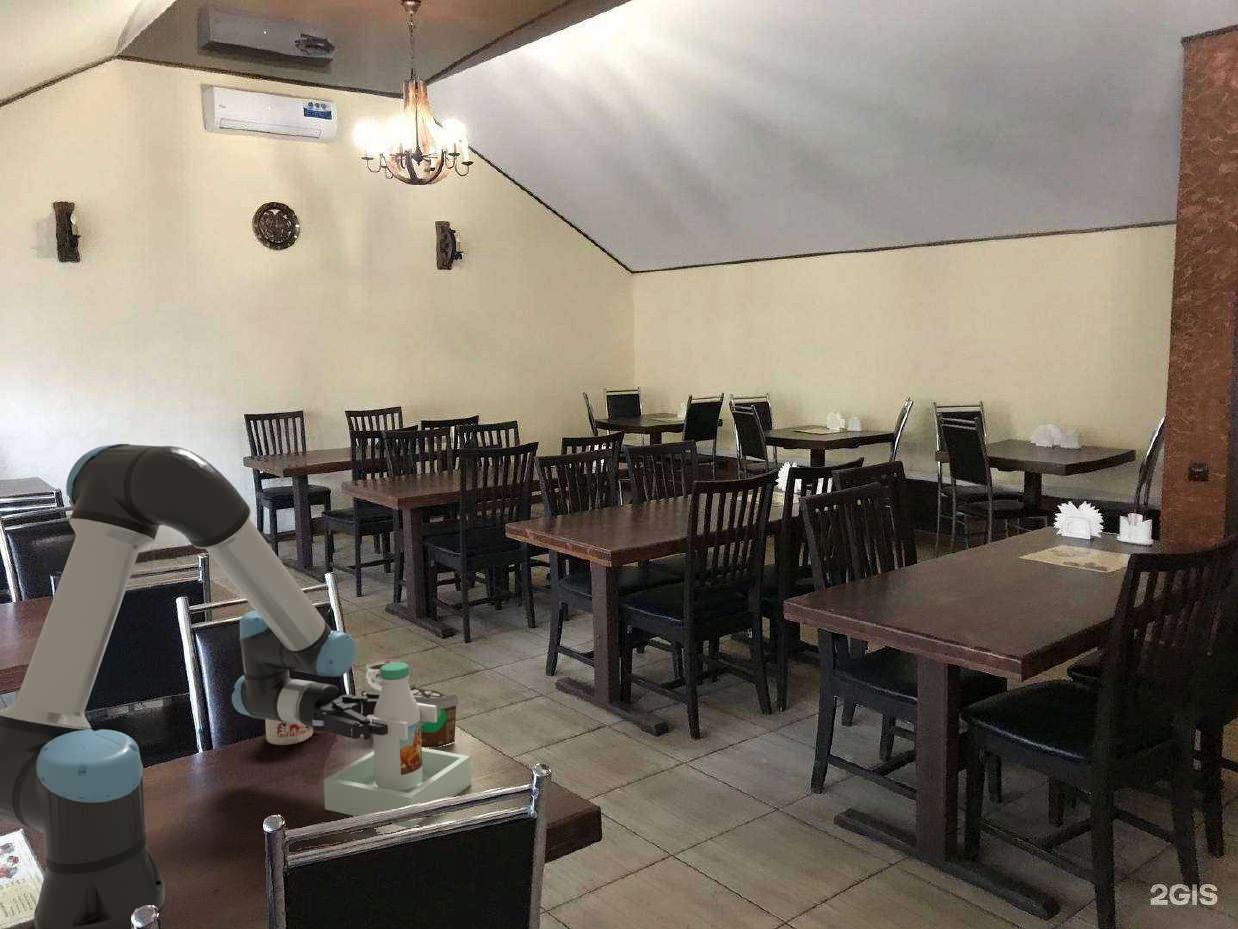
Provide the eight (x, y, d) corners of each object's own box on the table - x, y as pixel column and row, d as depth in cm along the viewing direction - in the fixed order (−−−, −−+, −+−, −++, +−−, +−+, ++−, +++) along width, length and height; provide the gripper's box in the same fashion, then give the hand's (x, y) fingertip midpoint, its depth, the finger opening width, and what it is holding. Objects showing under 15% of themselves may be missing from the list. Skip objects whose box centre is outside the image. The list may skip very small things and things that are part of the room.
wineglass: (360, 725, 191) (358, 667, 190) (383, 714, 198) (380, 657, 196) (388, 730, 189) (385, 671, 187) (409, 719, 195) (407, 661, 193)
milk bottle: (384, 797, 154) (378, 676, 152) (369, 779, 160) (364, 664, 158) (429, 785, 158) (425, 667, 156) (413, 769, 164) (409, 656, 162)
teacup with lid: (276, 750, 180) (273, 690, 178) (257, 737, 186) (254, 679, 185) (336, 733, 188) (333, 675, 186) (316, 721, 194) (313, 665, 193)
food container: (390, 742, 183) (388, 691, 182) (414, 731, 188) (412, 682, 187) (436, 756, 176) (434, 703, 175) (460, 745, 181) (458, 693, 180)
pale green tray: (411, 828, 148) (410, 797, 148) (325, 809, 155) (323, 779, 155) (471, 784, 164) (470, 756, 163) (390, 768, 171) (389, 741, 170)
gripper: (351, 706, 175) (456, 723, 166) (269, 746, 157) (383, 768, 147) (349, 666, 174) (455, 681, 165) (267, 702, 156) (381, 721, 146)
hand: (421, 722), depth 156 cm, fingers closed on milk bottle, 7 cm apart
